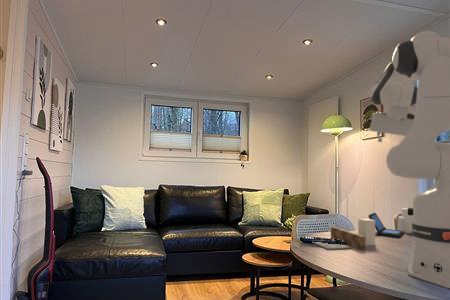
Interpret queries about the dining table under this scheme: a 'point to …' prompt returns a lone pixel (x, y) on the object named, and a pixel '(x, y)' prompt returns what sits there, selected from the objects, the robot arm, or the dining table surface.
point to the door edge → (348, 237)
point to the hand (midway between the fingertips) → (390, 143)
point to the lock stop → (367, 230)
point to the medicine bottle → (406, 220)
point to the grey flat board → (331, 246)
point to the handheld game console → (384, 228)
